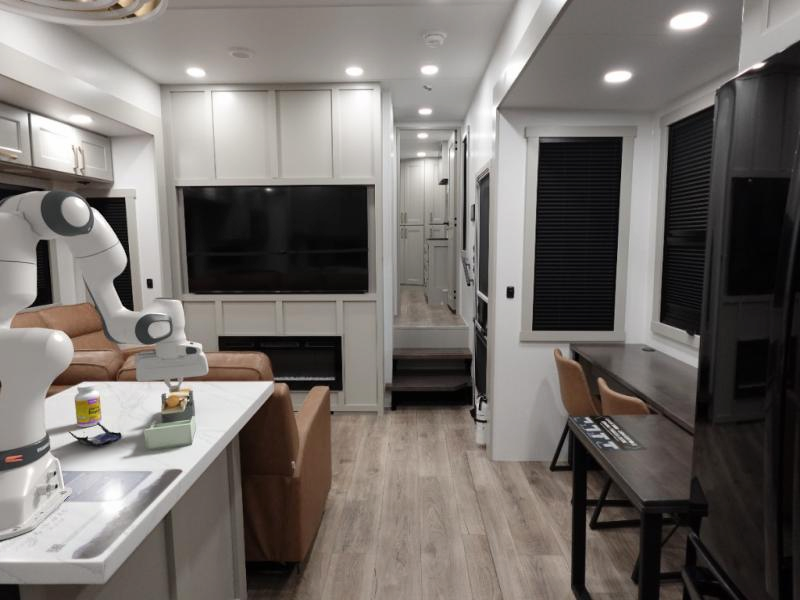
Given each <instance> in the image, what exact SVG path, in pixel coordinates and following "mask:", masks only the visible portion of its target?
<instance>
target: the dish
mask: <svg viewBox="0 0 800 600" xmlns="http://www.w3.org/2000/svg"><path fill="white" fill-rule="evenodd" d="M196 430H197V423H196V415H195V416H192V419H191V420H184V421H176V422H168V423H162V422H161V423H157V420H152V422H151V424H150V427H149V428H145V429H144V433H143V434H144V440H145V441H144V443H145V451H146V452H149V451H155V450H157V451H158V450H163V449H169V448H176V447H177V448H178V447H182V446H183V447H184V446H191V445H193V441H194V438H195V434H196Z"/></svg>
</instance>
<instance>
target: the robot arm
mask: <svg viewBox="0 0 800 600" xmlns="http://www.w3.org/2000/svg"><path fill="white" fill-rule="evenodd" d="M55 239H61V240H62V241H64V242H65V244H66V245H67V247H68V249H69V251H70V252H71V254H72V256H73V258H74V260H75V261H76V263H77V265H78V267H79V269H80V270H81V274H82V280H83V283H84V285H85V287H86V290H87V292H88V294H89V296H90V298H91V300H92V302H93V304H94V306H95V308H96V310H97V312H98V314H99V316H100V321H101V327H102V332H103V335H104V337H105V338H106V339H107V340H108V341H109V342H111V343H113V344H118V345H121V344H122V345H123V344H124V345H126V344H129V345H140V346H151V345H154V349H153V350H151V349H150V350H145V351H144V350H142V351H139V352H137V353H136V354H135V355H134V357H133V360H134V364H135V366H136V367H135V368H136V371H135V372H136V373H135V377H136V378H135V379H136V380H137V382H139V383H144V382H154V381H163V380H164V384H165V385H166V386H167V388H169V389H168V391H169V394H170V393H172V392H180V387H181V385H182V383H183V381H184V378H192V377H193V378H194V377H202V376H206V375H207V374H208V373H209V365H208V364H209V362H208V359H207V355H206V354H205V352H204V351H203V344H202V343H200V342H196V341H195V342H194V341H189V340H187V336H186V333H185V328H186V327H185V326H186V317H185V311H184V306H183V304H182V301H181V300H179V299H178V298H175V297H174V298H173V297H156V298H155V297H154V299H153V300H152V302H151V303H150V304H149V305H148V306H147V307H145V308H143V309H142V310H140V311H135V310H133V311H132V310H130V309H127V308H126V307H125V306H123V304H122V301H121V300H120V297H119V295H118V293H117V291H116V288H115V286H114V282H113V281H114V280H115V278H117V277H119V276H120V275H121V274H122V273H123V272H124V270H125V269H126V267H127V263H128V257H127V255H126V252H125V249H124V247H123V245H122V243H121V242H120V240H119V238H118V236H117V234H116V233H115V232H114V230H113V228H112V227H111V225H110V224H109V222H107V220H106V219H105V217H104V216H103V215H102V214H101V213H100V212H99V210H97V209H96V208H95V207H92V206H90V204H89V203H88V202H87V201H86V199H85V198H84V197H82V196H81V195H80V194H78V193H77V192H74V191H71V190H66V189H53V190H45V191H39V190H38V191H37V190H35V191H28V192H25V193H21V194H16V195H10V196H7V197H5V198H2V199H1V200H0V383H1V388H0V541H1V540H7V539H10V538H13V537H17V536H21V535H22V534H25V533H28V532H30V531H31V532H32V530H34V529H35V528H36V527H38V526H39V525H40V524H41V523H42V522H43V521H44V520H45V519H46V518H48V516H50V515H51V514H52V513H53V512H54V511H55V510H56V509H57V508H58V507H60V505H61V504H62V503H64V502H65V501H66V500H67V499H68V498H69V497H70V496H71V495H72V494H73V490H72V487H67V486H65V483H64V479H63V472H62V467H61V464H60V460H59V459H58V457H55V456H54V455H53V454H52V453H51V439H50V435H49V433H48V432H47V427H46V416H45V402H46V398H47V397H46V396H47V393H48V391H49V388H50V386H51V385H52V383H53V382H54V380H56V379H57V378H58V377H59V375H61V374H62V373H64V372H65V371H66V370H67V369H68V368H69V366H70V365H71V363H72V362H73V359H74V356H75V355H74V354H75V349H74V343H73V341H72V340H71V338H70V337H69V335H68V334H66V332H64V331H63V330H58V329H51V328H45V327H18V328H17V327H16V328H14V327H11V325H12V322H13V320H14V318H15V317H16V315H17V314H18V313H20V311H22V310H25V309H27V308H28V307H30V306H32V305H33V303H34V302H35V301H36V299H37V296H38V287H37V286H38V285H37V284H38V282H37V281H38V274H37V273H38V270H37V269H38V267H37V263H38V262H37V250H36V249H37V245H38V243H39V242H40V240H45V241H49V240H55ZM172 379H177V382H178V384H177V385H176V384H175V385H172V383H171V380H172ZM68 496H69V497H68ZM67 497H68V498H67ZM66 498H67V499H66ZM65 499H66V500H65ZM64 500H65V501H64Z"/></svg>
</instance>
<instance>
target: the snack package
mask: <svg viewBox="0 0 800 600" xmlns="http://www.w3.org/2000/svg"><path fill="white" fill-rule="evenodd" d="M96 426H98V427H100V428H101V430H102V431H103V432H104V433H99V434H97V435H95V436H94V435H93V436H91V437H89V436H86V437H84V436H82V437H81V436H79V437H78V436H77V435H75V434H74V433H72V432H71V431H68V434H70V435H71V436H72V437H73V438H74V439H76V440H77V441H79V442H81V443H83V444H85V445H94V446H95V447H97V448H99V447H100V446H102V445H103V444H105V443H108V444H112V443H115V442H116V441H118V440H120V439H121V438H122V437H123V435H122V434H121V432H114V431H110V430H109V429H107V428H106V427H105V426H104V425H103V424H101V422H100V423H99V422H97V425H96ZM83 433H84V434H85V431H83ZM92 439H93V441H91V440H92ZM94 441H96V442H94Z"/></svg>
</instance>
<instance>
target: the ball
mask: <svg viewBox="0 0 800 600" xmlns="http://www.w3.org/2000/svg"><path fill="white" fill-rule="evenodd" d="M167 398H168V397H167ZM179 402H180V400H179V398H178V397H177V396H170V397H169V398H168V399H167V405H168V406H170V407H176V406H177V405H178V404H179Z"/></svg>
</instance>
